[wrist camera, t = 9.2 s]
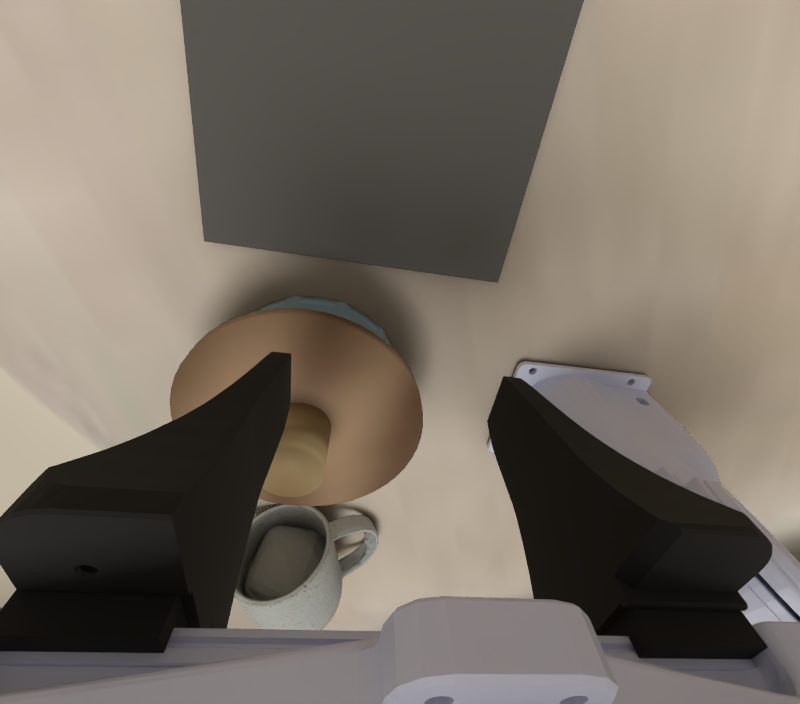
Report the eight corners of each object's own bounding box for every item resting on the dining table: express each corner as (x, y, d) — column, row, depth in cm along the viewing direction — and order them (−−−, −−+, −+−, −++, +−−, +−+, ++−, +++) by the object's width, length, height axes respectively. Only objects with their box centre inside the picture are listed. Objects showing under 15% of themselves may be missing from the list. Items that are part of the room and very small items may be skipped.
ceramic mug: (270, 563, 35) (248, 663, 29) (242, 507, 31) (208, 609, 25) (383, 548, 35) (386, 645, 29) (370, 490, 31) (370, 588, 25)
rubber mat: (596, -55, 15) (601, -59, 15) (495, 280, 22) (497, 282, 22) (168, -167, 13) (163, -174, 13) (207, 239, 20) (204, 241, 20)
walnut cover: (444, 326, 18) (459, 373, 15) (400, 502, 25) (404, 562, 21) (159, 290, 17) (102, 332, 13) (191, 487, 23) (159, 550, 20)
